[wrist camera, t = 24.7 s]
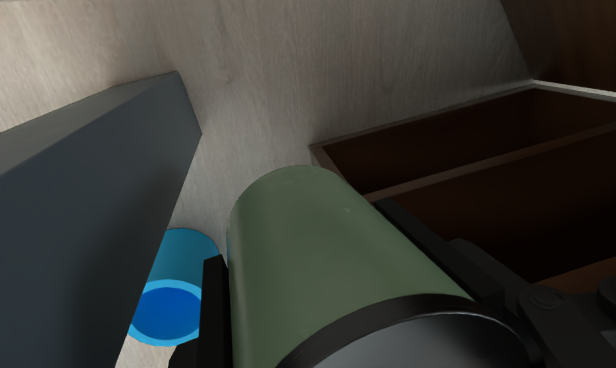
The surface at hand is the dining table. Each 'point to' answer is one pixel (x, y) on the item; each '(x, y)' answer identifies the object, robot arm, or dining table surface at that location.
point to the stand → (87, 219)
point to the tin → (345, 286)
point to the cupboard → (501, 178)
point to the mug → (173, 290)
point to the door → (567, 40)
